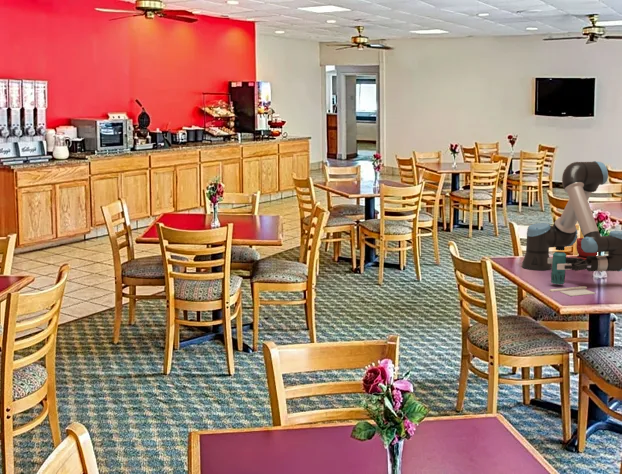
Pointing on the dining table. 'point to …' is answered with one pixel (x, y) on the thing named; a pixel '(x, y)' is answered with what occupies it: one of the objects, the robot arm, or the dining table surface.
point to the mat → (577, 292)
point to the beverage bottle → (558, 258)
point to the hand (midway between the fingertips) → (552, 263)
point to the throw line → (567, 288)
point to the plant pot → (581, 253)
